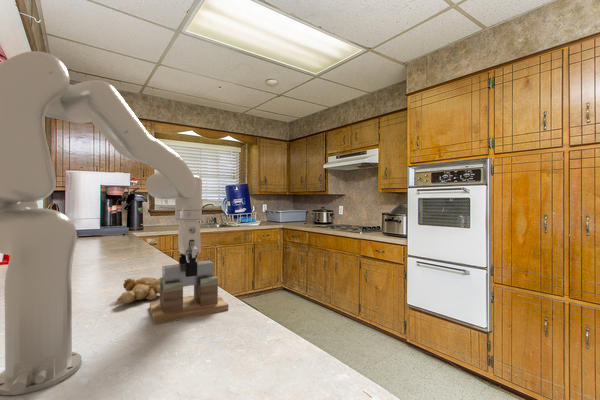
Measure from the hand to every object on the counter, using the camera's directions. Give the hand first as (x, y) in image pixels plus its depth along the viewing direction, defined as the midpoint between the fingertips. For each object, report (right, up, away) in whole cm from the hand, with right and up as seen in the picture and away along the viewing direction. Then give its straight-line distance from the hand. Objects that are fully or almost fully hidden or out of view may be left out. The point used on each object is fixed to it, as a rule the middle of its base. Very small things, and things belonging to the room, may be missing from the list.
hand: (187, 272), depth 89 cm
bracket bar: (0, -4, 0) cm, 4 cm away
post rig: (0, -11, 0) cm, 11 cm away
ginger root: (-19, -11, +11) cm, 25 cm away
